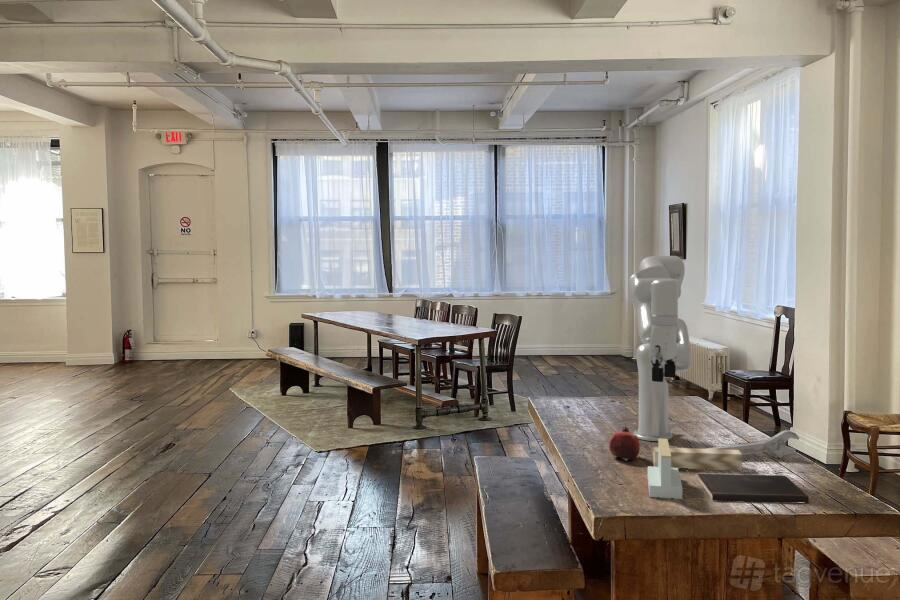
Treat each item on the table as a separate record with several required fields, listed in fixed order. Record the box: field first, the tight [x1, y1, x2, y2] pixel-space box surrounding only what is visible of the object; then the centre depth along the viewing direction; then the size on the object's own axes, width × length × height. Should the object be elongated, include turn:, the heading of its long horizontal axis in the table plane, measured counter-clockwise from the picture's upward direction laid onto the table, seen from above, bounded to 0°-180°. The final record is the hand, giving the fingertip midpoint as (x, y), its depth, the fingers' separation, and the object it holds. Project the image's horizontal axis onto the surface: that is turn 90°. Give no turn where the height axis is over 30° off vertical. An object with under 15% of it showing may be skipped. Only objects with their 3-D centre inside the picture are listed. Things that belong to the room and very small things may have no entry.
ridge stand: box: [647, 438, 683, 500], centre depth 185 cm, size 16×8×11 cm, turn 166°
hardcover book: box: [697, 473, 810, 504], centre depth 182 cm, size 16×23×2 cm
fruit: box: [608, 425, 641, 462], centre depth 211 cm, size 9×10×10 cm
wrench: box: [704, 429, 800, 459], centre depth 210 cm, size 8×2×30 cm
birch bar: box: [652, 446, 743, 471], centre depth 202 cm, size 24×4×5 cm, turn 81°
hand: (663, 379), depth 206 cm, fingers open, 9 cm apart
